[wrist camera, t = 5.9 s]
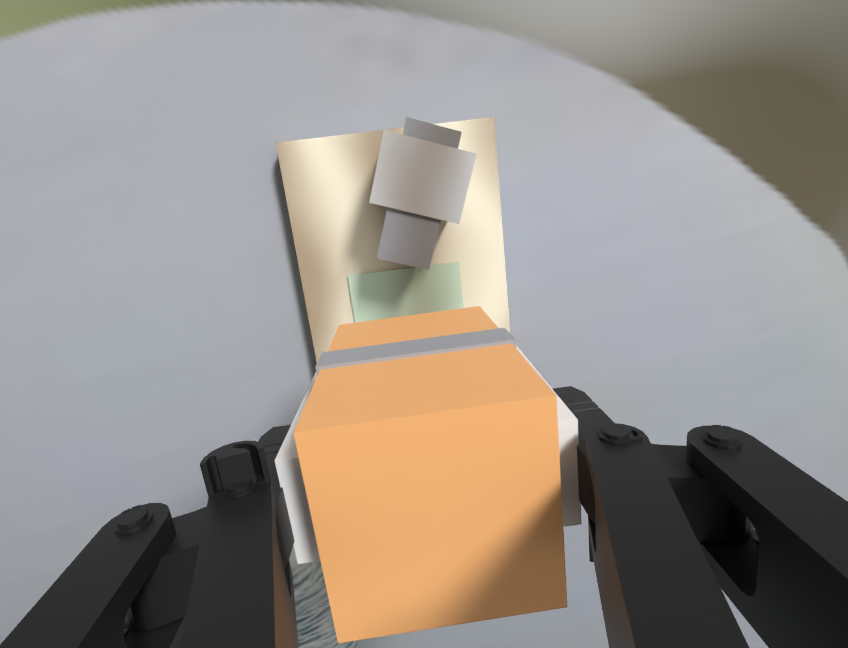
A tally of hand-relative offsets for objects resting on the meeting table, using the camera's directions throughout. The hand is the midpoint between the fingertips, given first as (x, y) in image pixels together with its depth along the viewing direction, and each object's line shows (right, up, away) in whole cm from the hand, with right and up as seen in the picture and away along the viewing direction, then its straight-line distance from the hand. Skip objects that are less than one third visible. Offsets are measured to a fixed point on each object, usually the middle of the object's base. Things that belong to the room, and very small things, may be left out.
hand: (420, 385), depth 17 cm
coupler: (0, 0, 0) cm, 0 cm away
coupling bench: (-1, +3, +11) cm, 11 cm away
